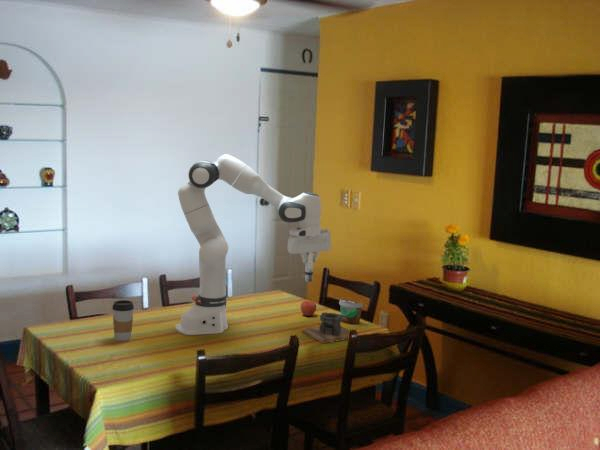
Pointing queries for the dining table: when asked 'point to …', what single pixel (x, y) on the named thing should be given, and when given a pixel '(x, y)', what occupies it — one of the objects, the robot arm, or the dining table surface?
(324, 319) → the collar stand
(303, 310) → the apple
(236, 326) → the dining table surface
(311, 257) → the air tube
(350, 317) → the food container
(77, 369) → the dining table surface
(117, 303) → the coffee cup
